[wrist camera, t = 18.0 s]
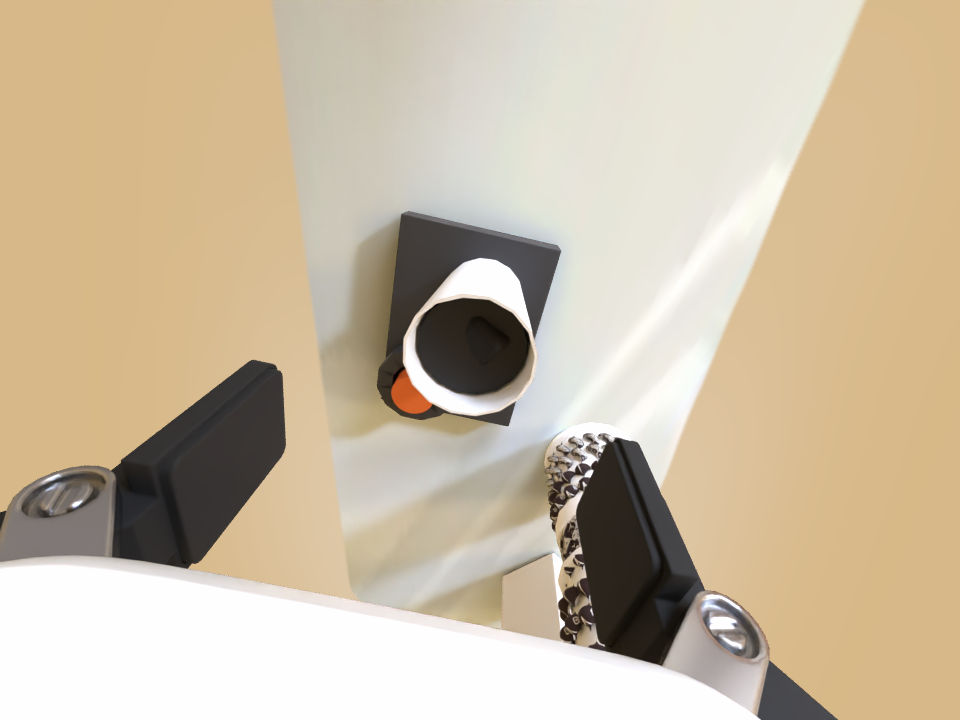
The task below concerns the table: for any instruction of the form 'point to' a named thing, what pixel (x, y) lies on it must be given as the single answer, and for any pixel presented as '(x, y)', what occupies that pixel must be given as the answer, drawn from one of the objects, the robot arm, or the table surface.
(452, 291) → the white cup
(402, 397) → the tare button
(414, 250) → the scale
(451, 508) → the table surface
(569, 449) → the decorative candle
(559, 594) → the milk carton
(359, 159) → the table surface
